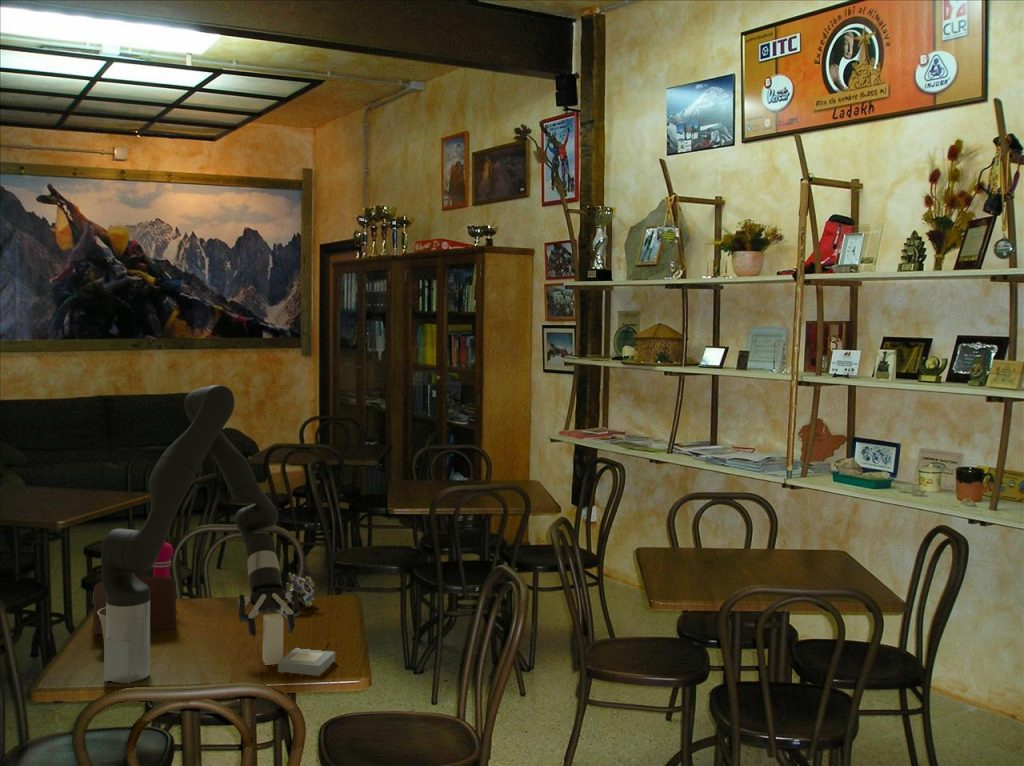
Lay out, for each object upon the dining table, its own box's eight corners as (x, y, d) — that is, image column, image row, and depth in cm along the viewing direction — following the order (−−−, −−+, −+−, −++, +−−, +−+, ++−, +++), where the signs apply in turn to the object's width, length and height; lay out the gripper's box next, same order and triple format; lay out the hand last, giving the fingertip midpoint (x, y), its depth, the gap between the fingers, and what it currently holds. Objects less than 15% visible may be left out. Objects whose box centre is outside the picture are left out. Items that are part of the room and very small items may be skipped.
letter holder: (176, 628, 261) (176, 575, 260) (93, 636, 254) (93, 581, 253) (173, 617, 270) (173, 566, 269) (93, 624, 263) (93, 571, 262)
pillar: (282, 664, 237) (283, 618, 236) (265, 666, 235) (266, 619, 235) (279, 658, 241) (280, 613, 240) (262, 660, 239) (263, 615, 238)
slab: (319, 678, 229) (319, 665, 229) (277, 674, 231) (278, 661, 231) (334, 664, 239) (335, 651, 239) (295, 660, 241) (295, 647, 241)
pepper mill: (167, 613, 273) (167, 540, 272) (142, 611, 274) (142, 538, 273) (180, 605, 280) (180, 534, 279) (155, 604, 282) (156, 533, 280)
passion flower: (308, 626, 283) (314, 599, 276) (269, 620, 281) (275, 592, 274) (314, 595, 292) (320, 568, 285) (276, 588, 290) (281, 561, 283)
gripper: (236, 568, 242) (243, 629, 233) (295, 563, 248) (305, 622, 238) (232, 584, 247) (240, 644, 238) (291, 579, 253) (300, 637, 244)
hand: (272, 633), depth 238 cm, fingers open, 8 cm apart
